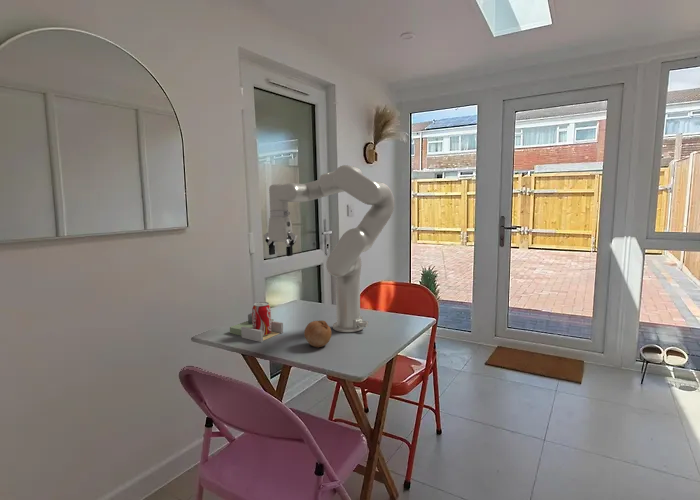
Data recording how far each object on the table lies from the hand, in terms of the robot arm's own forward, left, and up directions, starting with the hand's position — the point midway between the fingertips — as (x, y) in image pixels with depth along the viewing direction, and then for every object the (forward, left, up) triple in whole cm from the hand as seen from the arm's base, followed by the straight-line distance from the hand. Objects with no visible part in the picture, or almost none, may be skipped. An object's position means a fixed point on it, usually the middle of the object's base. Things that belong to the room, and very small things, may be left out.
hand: (280, 255), depth 165 cm
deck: (-2, +16, -28) cm, 32 cm away
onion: (-31, +17, -29) cm, 45 cm away
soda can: (-6, +18, -28) cm, 34 cm away
